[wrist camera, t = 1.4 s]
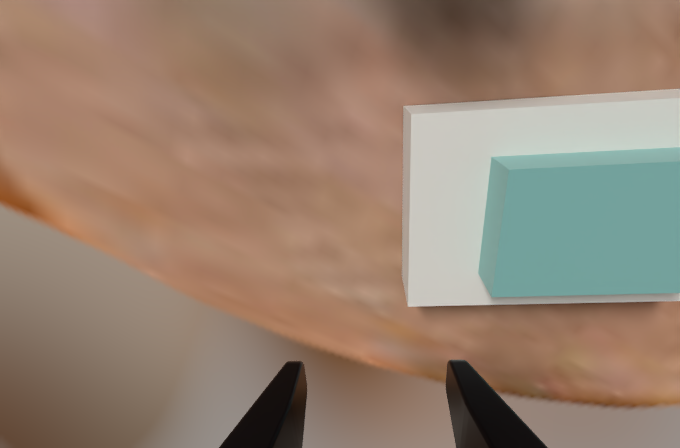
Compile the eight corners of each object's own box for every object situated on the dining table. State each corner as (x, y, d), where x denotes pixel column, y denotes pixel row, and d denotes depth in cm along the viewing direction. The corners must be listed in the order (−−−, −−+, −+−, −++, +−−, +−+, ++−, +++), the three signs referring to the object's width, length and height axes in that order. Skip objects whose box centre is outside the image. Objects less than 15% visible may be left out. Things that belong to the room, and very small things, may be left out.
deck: (705, 87, 16) (773, 92, 14) (642, 269, 21) (685, 300, 18) (403, 105, 18) (411, 114, 15) (401, 275, 22) (407, 306, 19)
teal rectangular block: (712, 145, 15) (762, 157, 13) (667, 268, 17) (702, 292, 15) (491, 156, 15) (508, 169, 14) (477, 273, 18) (491, 297, 16)
